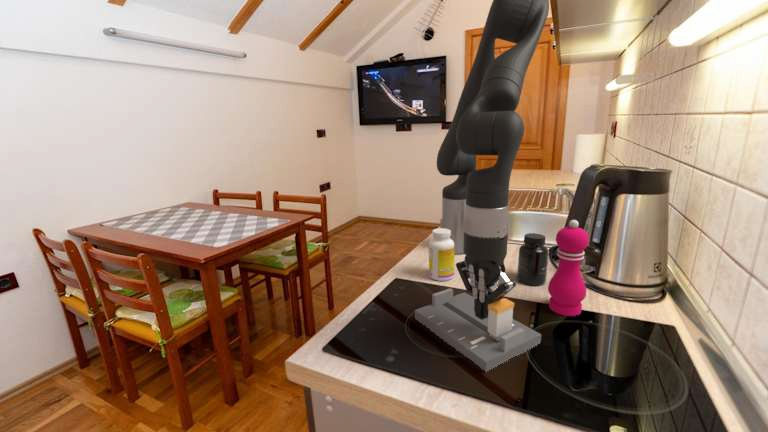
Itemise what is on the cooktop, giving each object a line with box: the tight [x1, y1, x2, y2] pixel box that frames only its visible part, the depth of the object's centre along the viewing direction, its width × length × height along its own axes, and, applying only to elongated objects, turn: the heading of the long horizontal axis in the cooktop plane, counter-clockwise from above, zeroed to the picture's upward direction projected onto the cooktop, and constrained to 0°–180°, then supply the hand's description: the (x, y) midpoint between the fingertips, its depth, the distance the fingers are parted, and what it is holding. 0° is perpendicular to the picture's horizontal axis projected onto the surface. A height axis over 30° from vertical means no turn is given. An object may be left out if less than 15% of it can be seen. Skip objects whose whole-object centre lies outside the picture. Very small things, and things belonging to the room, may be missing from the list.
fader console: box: [414, 288, 542, 373], centre depth 69 cm, size 20×14×4 cm
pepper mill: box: [547, 219, 590, 317], centre depth 74 cm, size 7×7×20 cm
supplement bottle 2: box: [516, 232, 549, 287], centre depth 89 cm, size 7×7×12 cm
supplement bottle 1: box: [428, 227, 455, 282], centre depth 93 cm, size 7×7×13 cm
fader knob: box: [488, 297, 515, 341], centre depth 63 cm, size 2×4×6 cm, turn 121°
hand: (482, 316), depth 67 cm, fingers closed
